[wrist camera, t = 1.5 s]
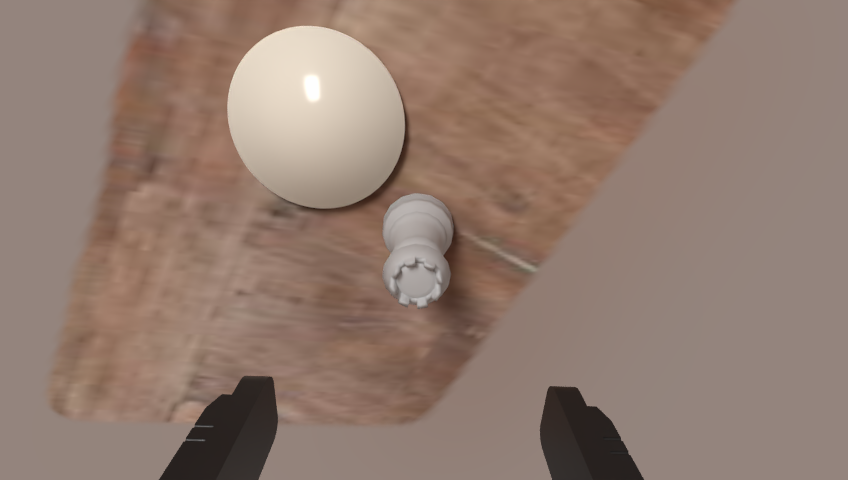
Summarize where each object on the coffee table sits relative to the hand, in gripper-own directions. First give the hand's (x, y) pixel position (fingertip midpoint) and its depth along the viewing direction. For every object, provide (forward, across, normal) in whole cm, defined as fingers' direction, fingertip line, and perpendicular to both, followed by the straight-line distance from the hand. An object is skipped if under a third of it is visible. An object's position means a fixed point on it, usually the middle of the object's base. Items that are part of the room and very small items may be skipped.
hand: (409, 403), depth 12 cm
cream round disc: (+15, +6, -6) cm, 17 cm away
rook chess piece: (+15, 0, 0) cm, 15 cm away
